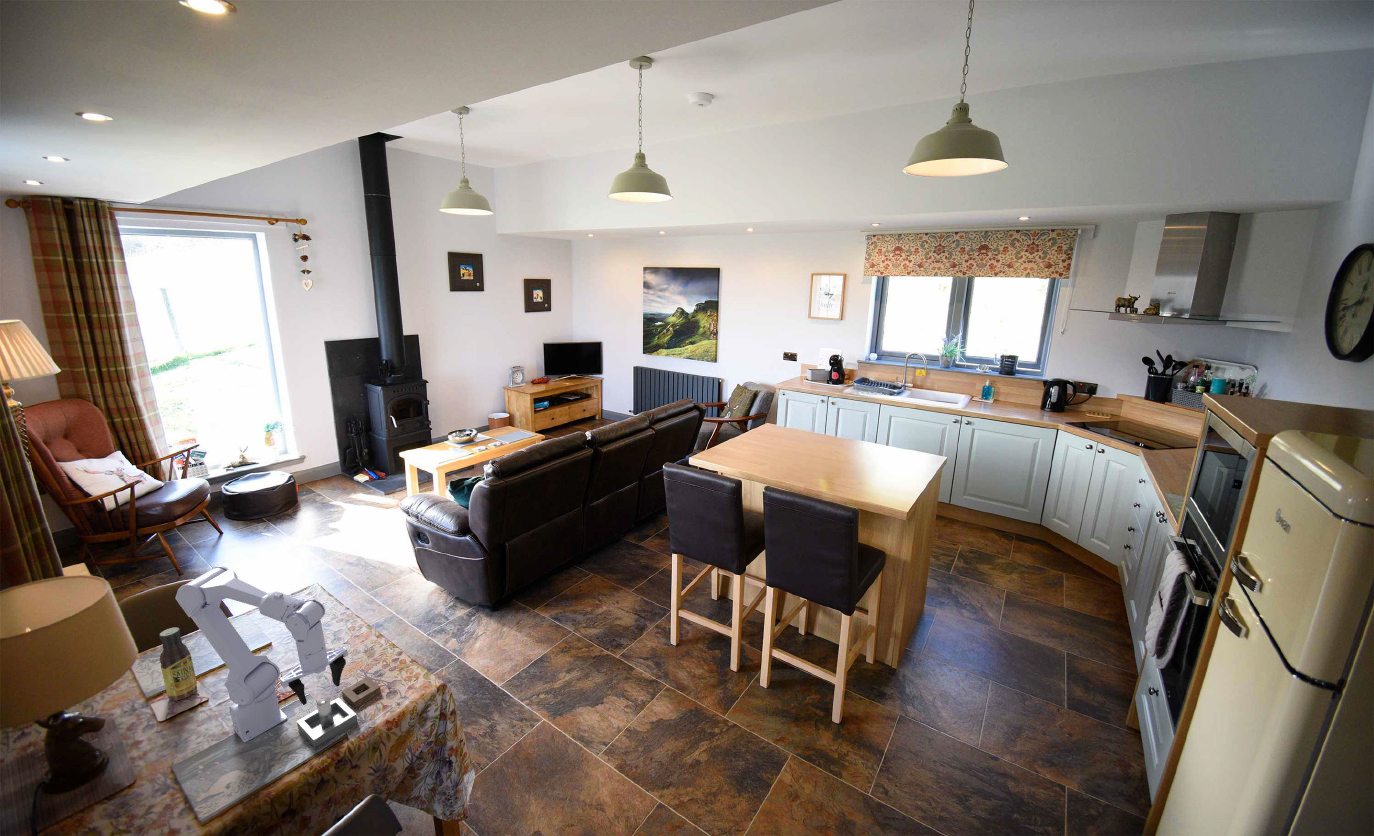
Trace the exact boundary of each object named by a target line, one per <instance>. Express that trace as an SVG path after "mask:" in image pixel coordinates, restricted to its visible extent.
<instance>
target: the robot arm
mask: <svg viewBox="0 0 1374 836" xmlns="http://www.w3.org/2000/svg"><path fill="white" fill-rule="evenodd" d="M225 599H230V600H232V601H237V602H239V603H242V604H246V605H249V606H253V607H256V608H258V611H259V614H260V615H261V616H264V617H268V618H270V619H272V620H275V621H277V622H280V623H283V624H284V625H285V627H286V629H287V630H288V632H290V633H291V638H292V639H293V640H295V645H296V651H297V655H298V661H299V665H298V666H296V667H295V668H294V669H292V670H291V671H289V672H288V673H286V674H285V675H284V676H282V677H280V676H281V670H280V668H279V666H278V665H277V664H276V663H275V662H273V661H271V660H270V659H269V657H268V656H267V655H254V653H253V652H252V650H251V649H250V647H249V646H248V645H247V643H246V642H245V641H244V639H243V638H242V637H241V635H240V633H239V632H238V631H237V629H236V628H235V627H234V626H233V624H232V623H231V621H230V620H229V618H228V617H227V615H226V614H225V613H224V612H223V610H222V609H221V607H220V606H221V603H222V601H223V600H225ZM175 600H176V601H177V603H178V605H179V606H180V608H182V610H183V611H184V613H185V614H186V615H187V617H188V618H191V619H192V620H193V623H195V625H196V626H197V628H198V629H199V630H200V632H201V633H202V635H203V636H204V637H205V638H206V640H207V641H208V643H209V644H210V645H211V647H212V648H213V649H214V651H215V652H216V653H217V655H218V656H219V657H220V659H221V660H222V662H223V663H224V664H225V666H226V667H227V669H228V670H229V671H228V674H227V677H226V679H225V682H224V686H225V688H226V690H227V693H228V696H229V699H230V700H231V701H232V702H233V704H231V705H230V706H229V708H228V709H229V714H230V717H231V722H232V725H233V730H234V731H235V733H236V734H237V736H238V737H239V738H240V739H241V741H242V742H243V743H246V742H249V741H250V740H252V739H254V738H256V737H257V736H260V735H261V734H262V733H265V732H266V731H268V730H270V729H271V728H273V727H275V726H277V725H279V724H281V723H282V722H284V721H287V719H288V715H286V714H285V713H284V711H283V710H282V709H281V708H280V704H279V700H278V696H277V690H276V685H277V684H278V683H277V680H278V679H279V682H280V686H281V687H283V689H286V688H287V687H289V688H290V689H291V691H293V692H294V693H295V694H296V696H297V697H298V699H299V702H300V703H301V705H303V706H305V705H307V703H308V702H307V696H306V692H305V684H304V683H303V682H302V680H301V678H303V677H308V676H310V675H313V674H321V673H322V672H324V671H326V669H327V667H328V666H329V669H330V672H331V678H332V684H333V685H335V687H337V688H338V687H340V685H341V678H342V673H343V671H344V669H345V667H346V664H347V660H346V658H345V657H347V656H349V653H348V648H346V647H345V646H340V647H339V648H335V649H334V650H330V651H327V646H326V642H325V636H324V629H323V625H322V619H323V617H324V616H325V614H326V609H325V606H324V605H323V603H321V602H320V601H318V600H317V599H315V598H309V599H305V598H304V599H297V598H295V597H293V596H290V595H287V594H284V592H283V593H282V592H280V591H273V592H271V593H267V592H265V591H264V590H261V589H260V588H258V587H255V586H254V585H251V584H249V583H247V582H245V581H243V580H241V579H240V578H238V575H237V572H235V570H233V569H232V570H231V569H229V568H227V567H226V566H223V565H216V566H214V567H212V568H211V569H210V570H208V571H207V572H204V573H203V574H201V575H199V576H198V577H195V579H193V580H191V581H189V582H187V583H186V584H182V585H181V586H180V587H179V588H178V589H177V592H176V595H175ZM279 677H280V678H279Z"/></svg>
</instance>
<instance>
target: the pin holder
mask: <svg viewBox="0 0 1374 836" xmlns="http://www.w3.org/2000/svg"><path fill="white" fill-rule="evenodd" d="M364 690H365V691H364ZM381 690H382V689H381V686H380V685H378V683H376V682H375V681H374V680H373V679H371V678H370V677H369V676H366V677H364V678H362V679H361V680H358V681H357V682H356V683H354V684H352V685H350V686H349V687H347V688H345V689H343V690H341V695H342V698H343V699H344V700H345V701H346V702H347V703H349V704H350V706H352V707H353V708H354V709H357V708H358V707H360V706H361V705H364V704H365V703H366V702H368V701H370V700H371V699H373V698H375V697H376V696H378V695H380V694H382V691H381ZM362 691H363V692H362ZM360 692H361V693H360Z"/></svg>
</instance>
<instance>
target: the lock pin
mask: <svg viewBox="0 0 1374 836" xmlns="http://www.w3.org/2000/svg"><path fill="white" fill-rule="evenodd" d="M330 702H331V699H330V698H329V697H324V698H320V700H317V702H316V709H318V713H319V718H320V723H321V727H322V728H323V729H325V728H329V727H330V726H332V725H333V724H334V719H333V714H332V709H331V704H330Z"/></svg>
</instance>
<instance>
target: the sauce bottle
mask: <svg viewBox="0 0 1374 836" xmlns="http://www.w3.org/2000/svg"><path fill="white" fill-rule="evenodd" d="M159 639H160V641H161V643H162V651H161V653H160V655H159V663H160V668H161V669H160V670H161V673H162V679H163V683H164V687H165V690H166V691H165V692H166V694H167V697H168V699H169V700H170V701H174V702H177V701H180V700H185V699H186V698H188V697H190V696H192V695H193V694H194V693H195V692H196V691H197V689H198V687H197V686H198V685H197V684H198V682H197V678H196V672H195V668H194V663H193V659H192V654H191V652H190V650H189V649H188V647H187V645H186V644H184V642H183V641H182V638H181V630H180V628H179V627H170V628H167V629H165V630H162V631H161V632H160V633H159Z"/></svg>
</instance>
